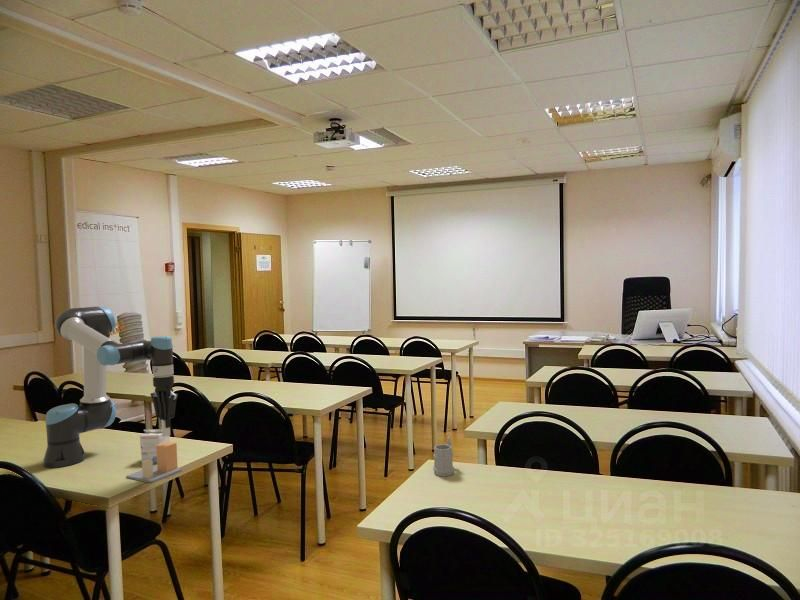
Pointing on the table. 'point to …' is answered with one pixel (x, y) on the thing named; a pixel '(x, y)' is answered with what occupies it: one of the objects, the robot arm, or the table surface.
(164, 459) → the peach carton
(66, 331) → the robot arm
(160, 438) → the ink box
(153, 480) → the post board
